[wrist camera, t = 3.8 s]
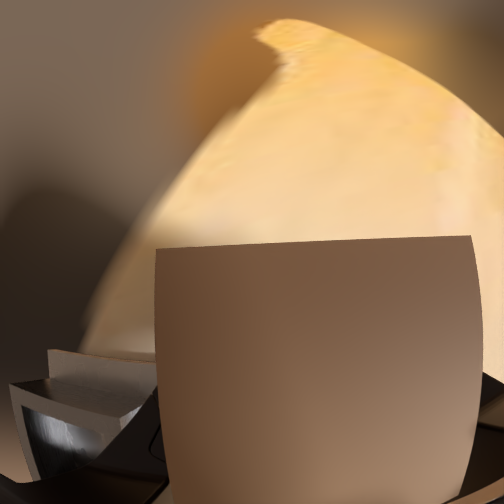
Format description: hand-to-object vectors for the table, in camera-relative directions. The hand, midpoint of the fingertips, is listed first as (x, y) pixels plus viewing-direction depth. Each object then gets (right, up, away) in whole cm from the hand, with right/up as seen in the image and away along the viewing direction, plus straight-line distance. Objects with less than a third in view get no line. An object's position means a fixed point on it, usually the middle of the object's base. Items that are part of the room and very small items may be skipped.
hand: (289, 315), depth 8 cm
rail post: (0, -3, +6) cm, 7 cm away
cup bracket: (-9, -11, +4) cm, 15 cm away
